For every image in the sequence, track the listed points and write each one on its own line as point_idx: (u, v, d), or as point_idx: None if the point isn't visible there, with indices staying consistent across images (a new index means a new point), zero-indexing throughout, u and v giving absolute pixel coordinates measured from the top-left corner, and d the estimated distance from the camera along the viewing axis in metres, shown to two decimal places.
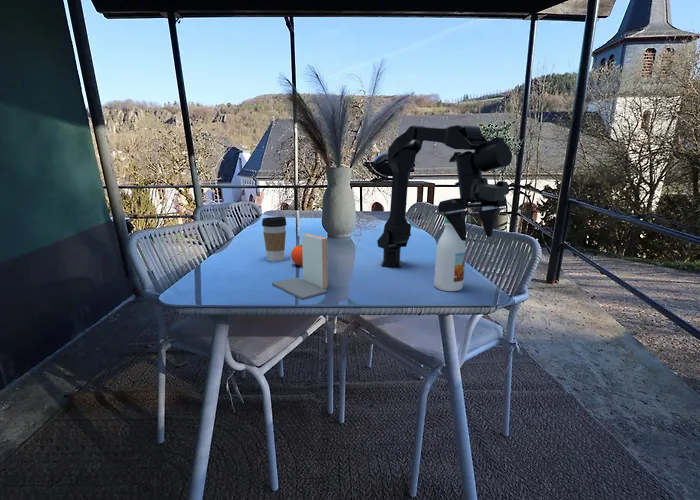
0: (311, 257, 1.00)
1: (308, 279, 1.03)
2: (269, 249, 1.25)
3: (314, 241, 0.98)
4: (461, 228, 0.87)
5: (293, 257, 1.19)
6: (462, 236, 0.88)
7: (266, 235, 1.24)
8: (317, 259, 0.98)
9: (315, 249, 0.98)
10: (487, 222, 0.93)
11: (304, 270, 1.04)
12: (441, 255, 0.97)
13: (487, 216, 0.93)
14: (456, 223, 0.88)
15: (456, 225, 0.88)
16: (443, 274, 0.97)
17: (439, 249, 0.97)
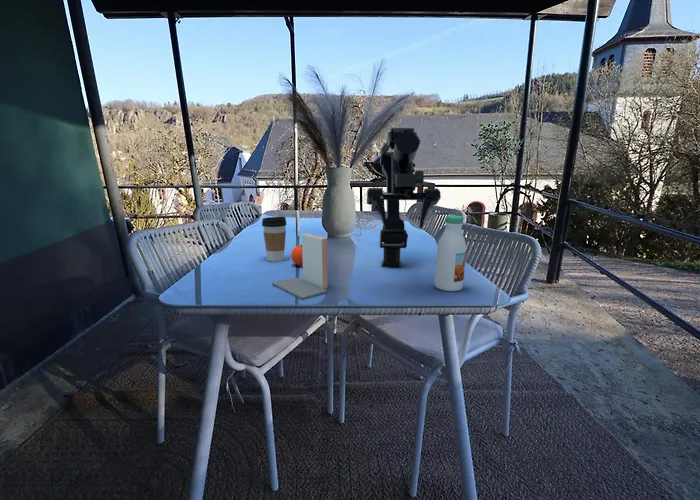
0: (311, 257, 1.00)
1: (308, 279, 1.03)
2: (269, 249, 1.25)
3: (314, 241, 0.98)
4: (381, 216, 0.93)
5: (293, 257, 1.19)
6: (383, 223, 0.94)
7: (266, 235, 1.24)
8: (317, 259, 0.98)
9: (315, 249, 0.98)
10: (420, 214, 0.94)
11: (304, 270, 1.04)
12: (441, 255, 0.97)
13: (421, 209, 0.95)
14: (380, 212, 0.95)
15: (380, 214, 0.95)
16: (443, 274, 0.97)
17: (439, 249, 0.97)
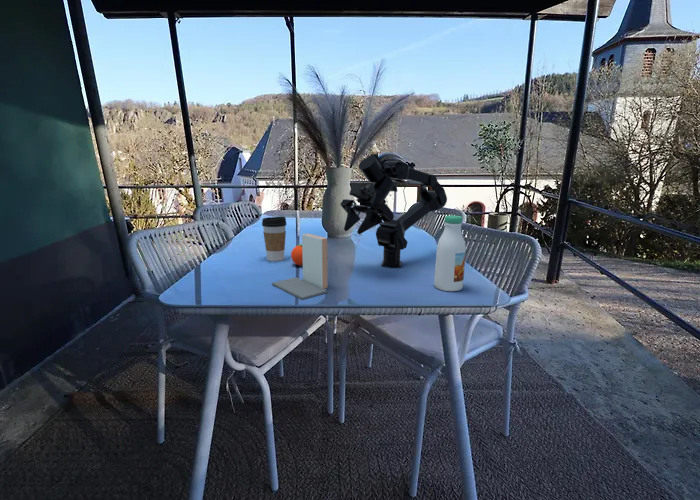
0: (311, 257, 1.00)
1: (308, 279, 1.03)
2: (269, 249, 1.25)
3: (314, 241, 0.98)
4: None
5: (293, 257, 1.19)
6: None
7: (266, 235, 1.24)
8: (317, 259, 0.98)
9: (315, 249, 0.98)
10: None
11: (304, 270, 1.04)
12: (441, 255, 0.97)
13: None
14: None
15: None
16: (443, 274, 0.97)
17: (439, 249, 0.97)
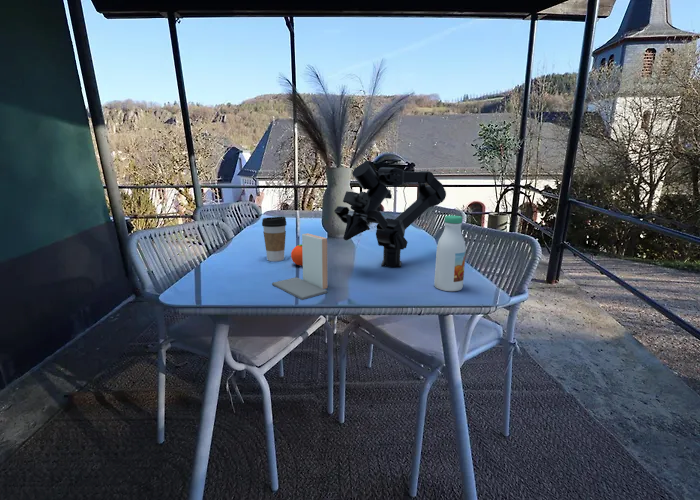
0: (311, 257, 1.00)
1: (308, 279, 1.03)
2: (269, 249, 1.25)
3: (314, 241, 0.98)
4: None
5: (293, 257, 1.19)
6: None
7: (266, 235, 1.24)
8: (317, 259, 0.98)
9: (315, 249, 0.98)
10: None
11: (304, 270, 1.04)
12: (441, 255, 0.97)
13: None
14: None
15: None
16: (443, 274, 0.97)
17: (439, 249, 0.97)
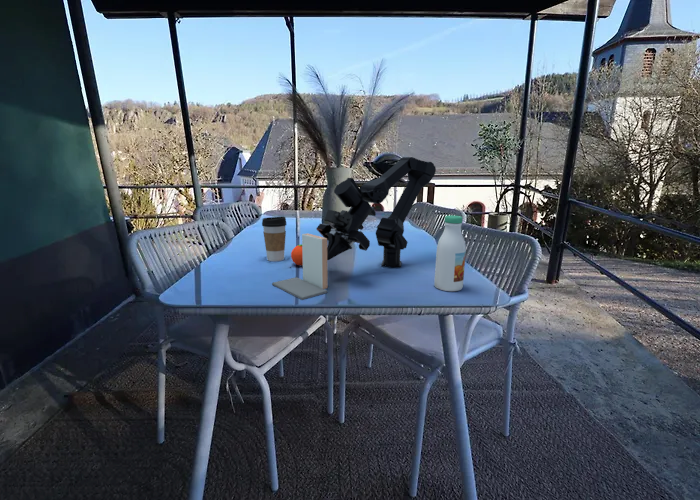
0: (311, 257, 1.00)
1: (308, 279, 1.03)
2: (269, 249, 1.25)
3: (314, 241, 0.98)
4: None
5: (293, 257, 1.19)
6: None
7: (266, 235, 1.24)
8: (317, 259, 0.98)
9: (315, 249, 0.98)
10: None
11: (304, 270, 1.04)
12: (441, 255, 0.97)
13: None
14: None
15: None
16: (443, 274, 0.97)
17: (439, 249, 0.97)
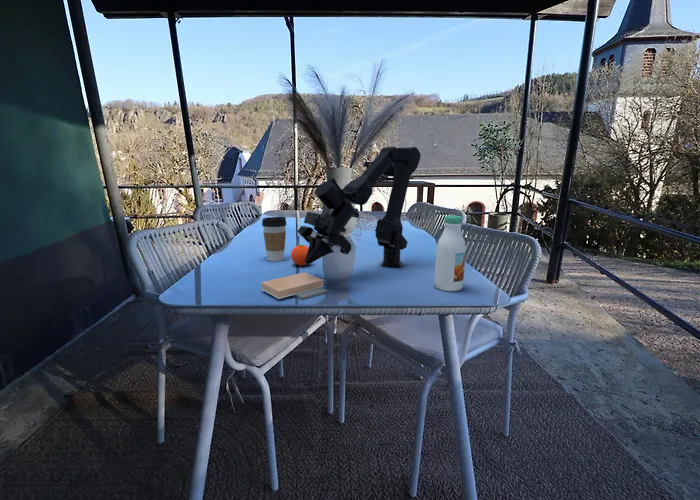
0: None
1: None
2: (269, 249, 1.25)
3: None
4: None
5: (293, 257, 1.19)
6: None
7: (266, 235, 1.24)
8: None
9: None
10: None
11: None
12: (441, 255, 0.97)
13: None
14: None
15: None
16: (443, 274, 0.97)
17: (439, 249, 0.97)
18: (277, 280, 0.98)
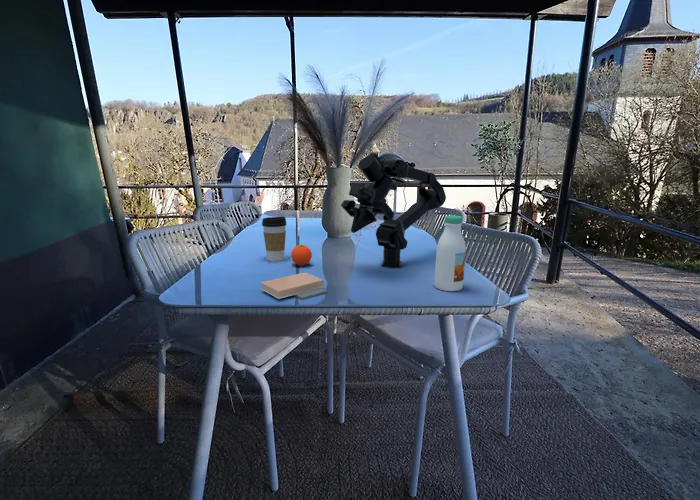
0: None
1: None
2: (269, 249, 1.25)
3: None
4: None
5: (293, 257, 1.19)
6: None
7: (266, 235, 1.24)
8: None
9: None
10: None
11: None
12: (441, 255, 0.97)
13: None
14: None
15: None
16: (443, 274, 0.97)
17: (439, 249, 0.97)
18: (277, 280, 0.98)
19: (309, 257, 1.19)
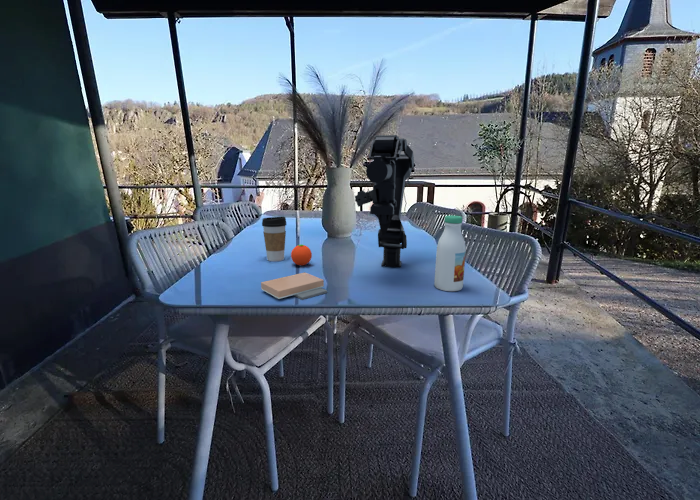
0: None
1: None
2: (269, 249, 1.25)
3: None
4: None
5: (293, 257, 1.19)
6: None
7: (266, 235, 1.24)
8: None
9: None
10: None
11: None
12: (441, 255, 0.97)
13: None
14: None
15: None
16: (443, 274, 0.97)
17: (439, 249, 0.97)
18: (277, 280, 0.98)
19: (309, 257, 1.19)
